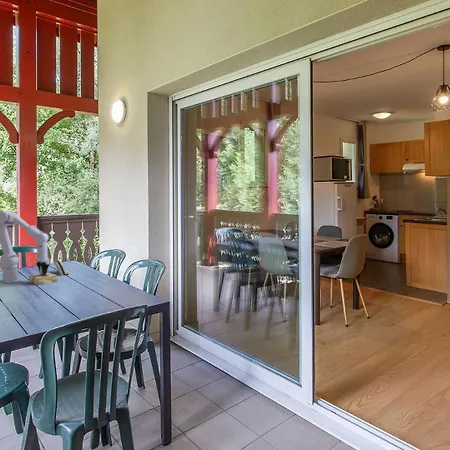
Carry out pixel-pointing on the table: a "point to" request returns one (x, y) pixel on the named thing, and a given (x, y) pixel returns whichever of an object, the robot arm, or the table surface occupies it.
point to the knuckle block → (43, 279)
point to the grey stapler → (61, 268)
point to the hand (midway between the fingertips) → (43, 274)
